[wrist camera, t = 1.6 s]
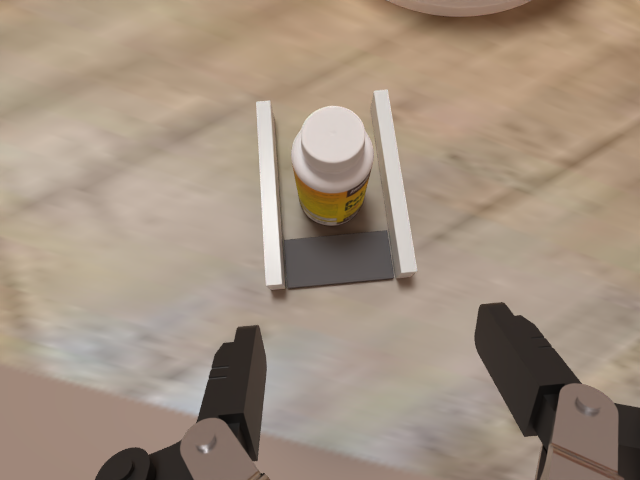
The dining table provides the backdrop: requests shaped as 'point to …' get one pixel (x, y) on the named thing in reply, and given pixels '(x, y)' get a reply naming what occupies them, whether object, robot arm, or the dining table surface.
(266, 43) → the dining table surface
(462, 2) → the plate stack
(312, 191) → the supplement bottle
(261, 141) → the trap channel
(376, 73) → the dining table surface
